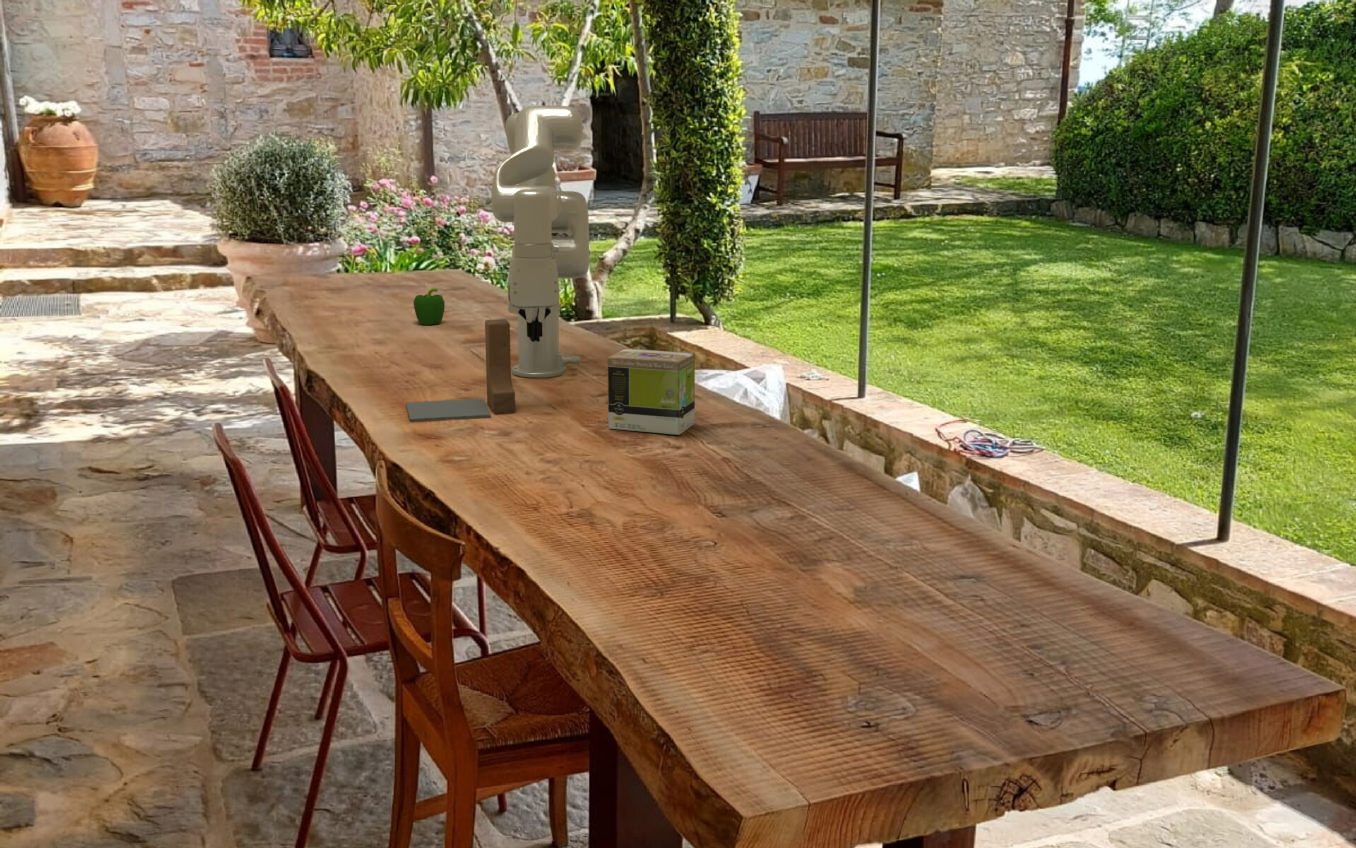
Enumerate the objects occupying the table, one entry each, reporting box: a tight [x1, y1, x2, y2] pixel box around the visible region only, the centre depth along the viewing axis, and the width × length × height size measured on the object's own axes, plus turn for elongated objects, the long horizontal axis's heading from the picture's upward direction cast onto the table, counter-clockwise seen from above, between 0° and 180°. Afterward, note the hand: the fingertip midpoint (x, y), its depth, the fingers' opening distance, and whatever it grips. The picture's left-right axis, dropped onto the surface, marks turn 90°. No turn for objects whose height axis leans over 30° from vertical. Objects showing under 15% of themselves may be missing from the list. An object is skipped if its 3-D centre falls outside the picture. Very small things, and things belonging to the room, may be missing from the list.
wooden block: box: [484, 318, 516, 415], centre depth 265 cm, size 9×4×18 cm, turn 17°
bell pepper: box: [413, 287, 446, 326], centre depth 358 cm, size 8×8×10 cm
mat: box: [405, 398, 492, 423], centre depth 265 cm, size 16×14×1 cm
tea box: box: [607, 348, 696, 436], centre depth 253 cm, size 15×10×15 cm
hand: (534, 340), depth 266 cm, fingers closed
